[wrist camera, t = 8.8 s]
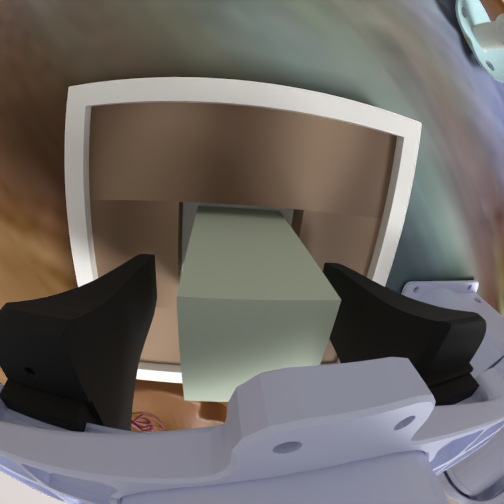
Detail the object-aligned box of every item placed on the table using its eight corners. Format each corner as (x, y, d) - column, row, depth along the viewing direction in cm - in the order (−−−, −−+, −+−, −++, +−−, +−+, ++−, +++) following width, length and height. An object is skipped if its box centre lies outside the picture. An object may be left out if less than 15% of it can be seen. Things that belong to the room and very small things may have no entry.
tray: (389, 121, 13) (421, 122, 11) (334, 348, 20) (348, 377, 17) (95, 92, 11) (68, 86, 8) (113, 343, 17) (102, 374, 15)
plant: (98, 456, 26) (88, 522, 16) (19, 358, 18) (-25, 448, 8) (244, 462, 28) (254, 538, 18) (224, 364, 20) (236, 509, 9)
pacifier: (467, -6, 9) (432, 0, 10) (519, -17, 3) (494, -19, 4) (504, 70, 12) (478, 88, 13) (559, 73, 6) (543, 92, 7)
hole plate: (380, 134, 13) (397, 136, 11) (329, 347, 18) (336, 362, 17) (104, 108, 11) (91, 106, 9) (121, 342, 16) (115, 358, 15)
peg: (279, 210, 14) (341, 299, 7) (269, 281, 16) (307, 397, 8) (198, 205, 14) (176, 296, 6) (196, 278, 15) (184, 400, 8)
